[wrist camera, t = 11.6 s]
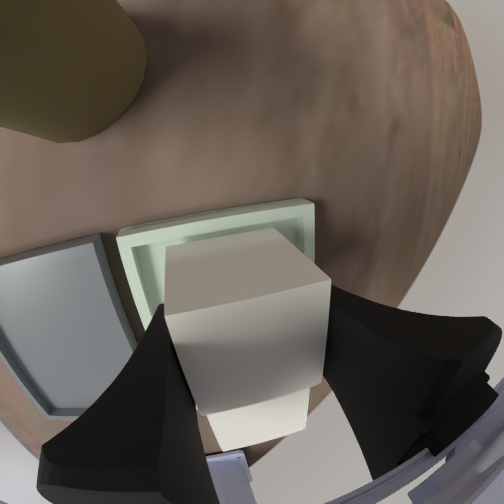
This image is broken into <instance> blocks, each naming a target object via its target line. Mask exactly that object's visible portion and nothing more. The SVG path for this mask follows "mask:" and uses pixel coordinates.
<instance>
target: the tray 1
mask: <svg viewBox="0 0 504 504" xmlns="http://www.w3.org/2000/svg"><path fill="white" fill-rule="evenodd" d="M137 345H138V343H137V341H136V339H135V336H134V334H133V331H132V329H131V327H130V324H129V321H128V319H127V316H126V314H125V311H124V308H123V306H122V303H121V300H120V297H119V294H118V292H117V289H116V286H115V283H114V280H113V277H112V273H111V270H110V267H109V264H108V261H107V257H106V254H105V250H104V247H103V243H102V239H101V236H100V233H97V234H93V235H89V236H84V237H80V238H76V239H72V240H68V241H64V242H60V243H56V244H52V245H48V246H44V247H40V248H36V249H33V250H29V251H25V252H22V253H18V254H15V255H11V256H8V257H4V258H1V259H0V359H1V361H2V362H3V364H4V365H5V367H6V368H7V369H8V371H9V372H10V374H11V375H12V377H13V378H14V379H15V381H16V382H17V383H18V385H19V386H20V387H21V389H22V390H23V391H24V393H25V394H26V395H27V396H28V398H29V399H30V400H31V401H32V402H33V404H34V405H35V406H36V407H37V408H38V409H39V411H40V412H41V413H42V414H43V415H44V416H45V417H46V418H47V420H74V421H75V420H76V419H77V418H78V417H79V416H81V415H82V414H83V413H84V412H85V411H86V410H87V409H88V408H89V407H90V406H91V405H92V404H93V403H94V402H95V401H96V400H97V399H98V398H99V397H100V396H101V394H102V393H103V392H104V391H105V390H106V389H107V388H108V387H109V386H110V384H111V383H112V382H113V381H114V380H115V378H116V377H117V376H118V374H119V373H120V372H121V370H122V369H123V367H124V366H125V364H126V363H127V362H128V360H129V358H130V357H131V355H132V353H133V352H134V350H135V349H136V347H137Z"/></svg>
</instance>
